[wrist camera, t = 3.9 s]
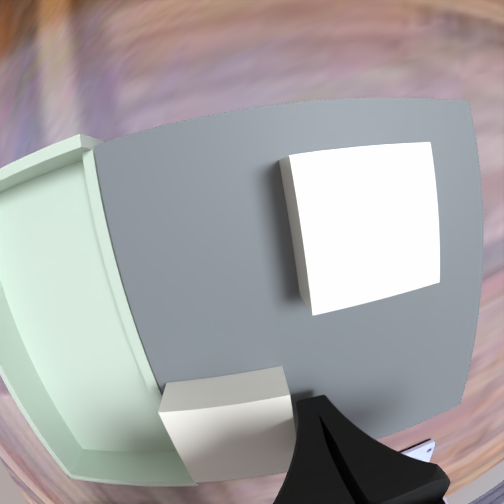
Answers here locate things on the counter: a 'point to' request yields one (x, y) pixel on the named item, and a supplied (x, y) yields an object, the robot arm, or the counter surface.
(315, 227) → the tile
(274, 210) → the board
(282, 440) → the tile
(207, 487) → the counter surface
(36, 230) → the tray
